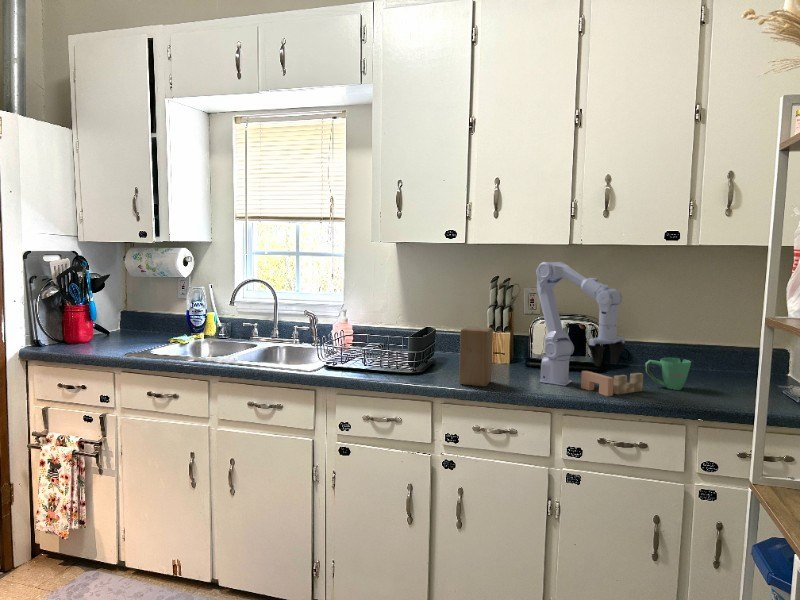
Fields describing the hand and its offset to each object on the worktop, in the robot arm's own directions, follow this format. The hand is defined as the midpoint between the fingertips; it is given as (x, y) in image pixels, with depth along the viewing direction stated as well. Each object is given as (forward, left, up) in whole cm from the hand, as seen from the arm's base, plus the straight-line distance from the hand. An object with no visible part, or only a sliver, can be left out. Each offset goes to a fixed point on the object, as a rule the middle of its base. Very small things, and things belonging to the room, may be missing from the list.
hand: (605, 365), depth 190 cm
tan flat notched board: (-3, +2, -10) cm, 11 cm away
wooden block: (-42, -12, -10) cm, 45 cm away
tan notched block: (+6, +8, -10) cm, 14 cm away
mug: (+16, +23, -10) cm, 30 cm away
